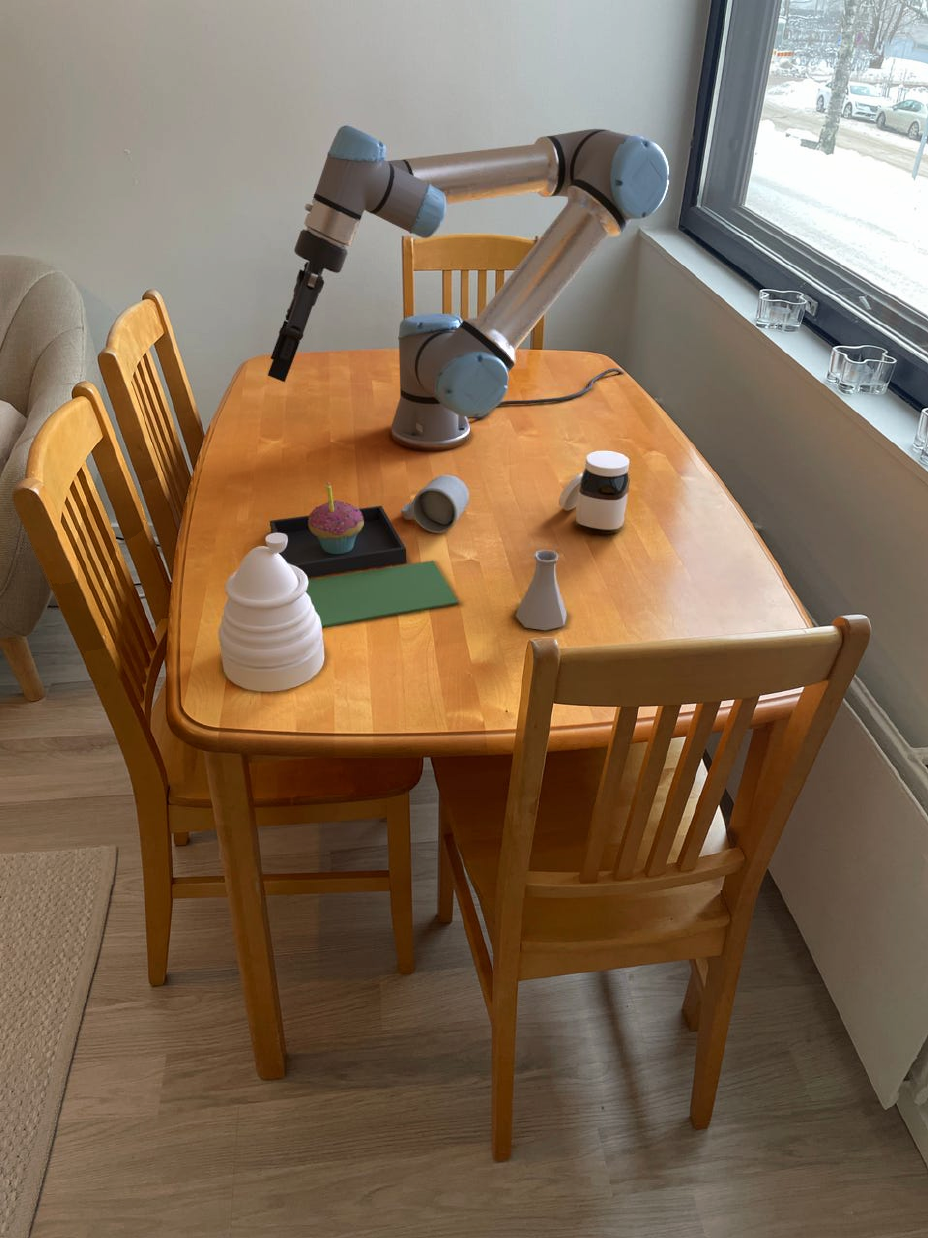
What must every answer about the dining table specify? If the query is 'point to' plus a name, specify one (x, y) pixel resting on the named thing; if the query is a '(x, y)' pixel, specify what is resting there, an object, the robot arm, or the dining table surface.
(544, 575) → the flask
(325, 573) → the baking pan
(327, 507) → the cupcake
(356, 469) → the dining table surface
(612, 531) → the spread jar
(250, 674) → the honey pot
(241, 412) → the dining table surface
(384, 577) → the green cloth
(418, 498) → the ceramic mug
